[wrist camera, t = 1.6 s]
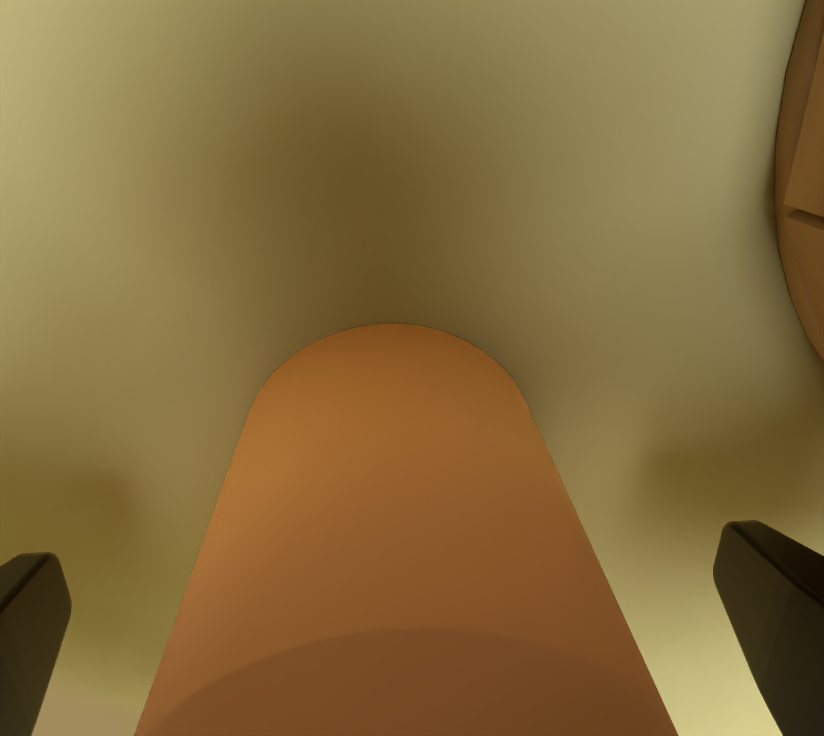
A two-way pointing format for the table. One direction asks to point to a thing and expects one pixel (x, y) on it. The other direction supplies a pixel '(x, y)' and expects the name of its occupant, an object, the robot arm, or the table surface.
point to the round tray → (803, 174)
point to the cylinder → (397, 565)
